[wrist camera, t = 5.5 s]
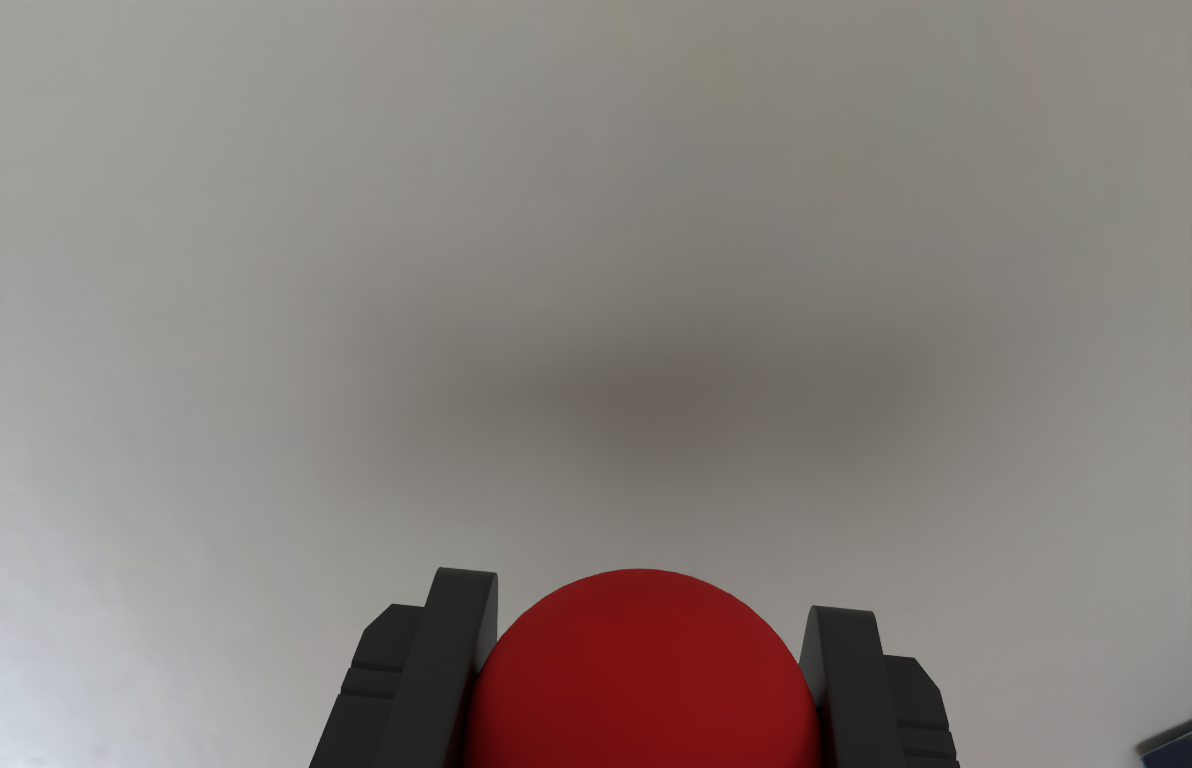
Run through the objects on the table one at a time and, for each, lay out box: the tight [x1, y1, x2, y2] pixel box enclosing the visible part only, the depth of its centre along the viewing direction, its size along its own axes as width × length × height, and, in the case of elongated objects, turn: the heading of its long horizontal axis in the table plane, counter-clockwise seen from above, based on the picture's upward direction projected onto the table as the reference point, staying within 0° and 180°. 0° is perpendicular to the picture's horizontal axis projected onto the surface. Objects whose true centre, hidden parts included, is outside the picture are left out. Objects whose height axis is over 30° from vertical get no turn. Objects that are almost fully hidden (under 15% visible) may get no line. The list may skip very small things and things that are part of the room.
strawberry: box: [461, 569, 822, 768], centre depth 12 cm, size 4×4×4 cm
